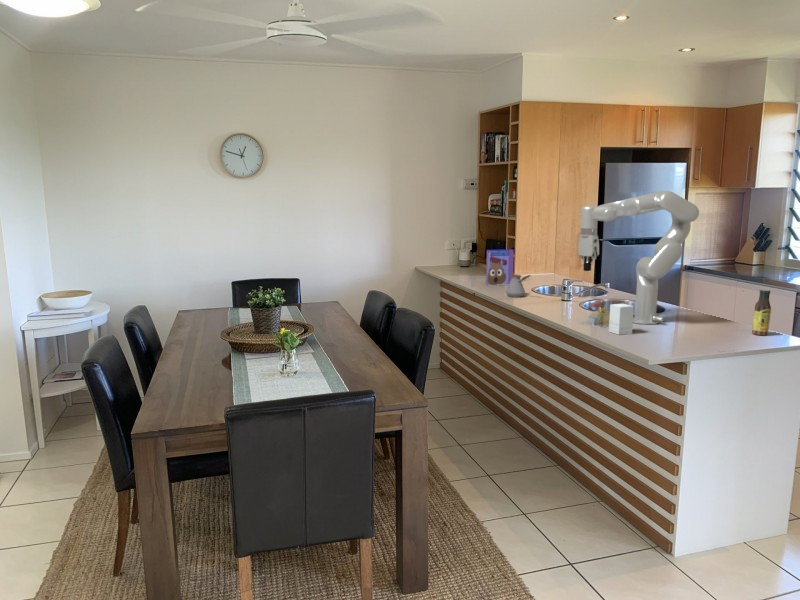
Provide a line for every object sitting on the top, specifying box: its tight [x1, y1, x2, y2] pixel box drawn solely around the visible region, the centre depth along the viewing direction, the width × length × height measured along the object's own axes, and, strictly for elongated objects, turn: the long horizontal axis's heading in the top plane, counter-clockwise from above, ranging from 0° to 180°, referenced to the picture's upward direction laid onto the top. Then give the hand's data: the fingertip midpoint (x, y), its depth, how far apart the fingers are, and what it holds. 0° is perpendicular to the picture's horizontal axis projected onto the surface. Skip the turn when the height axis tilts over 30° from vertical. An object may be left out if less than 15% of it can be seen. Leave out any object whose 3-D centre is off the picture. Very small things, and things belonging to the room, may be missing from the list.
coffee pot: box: [505, 274, 533, 298], centre depth 357 cm, size 21×12×15 cm, turn 21°
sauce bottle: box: [751, 289, 772, 336], centre depth 263 cm, size 7×6×20 cm
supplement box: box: [608, 303, 635, 336], centre depth 268 cm, size 7×7×13 cm
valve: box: [578, 306, 610, 329], centre depth 289 cm, size 12×19×8 cm, turn 130°
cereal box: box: [485, 248, 515, 286], centre depth 406 cm, size 17×5×24 cm, turn 104°
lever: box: [589, 299, 607, 308], centre depth 284 cm, size 13×3×3 cm, turn 138°
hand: (587, 270), depth 287 cm, fingers closed
